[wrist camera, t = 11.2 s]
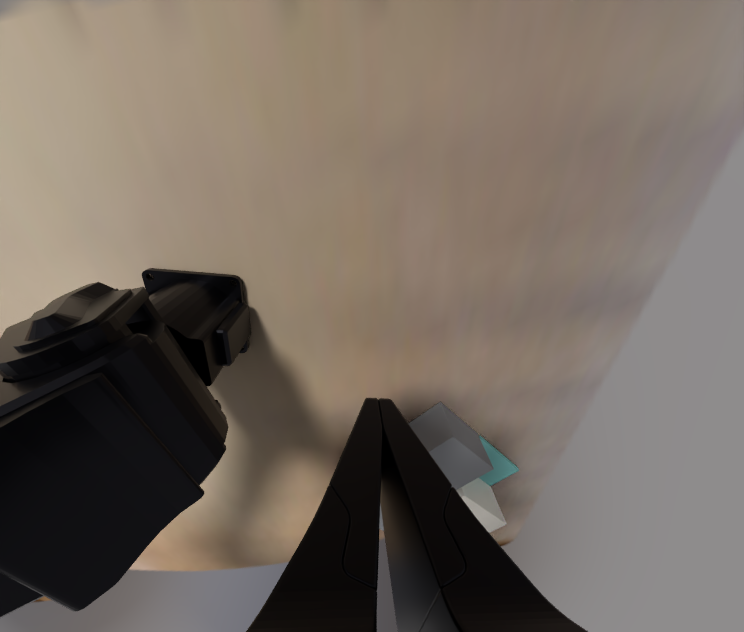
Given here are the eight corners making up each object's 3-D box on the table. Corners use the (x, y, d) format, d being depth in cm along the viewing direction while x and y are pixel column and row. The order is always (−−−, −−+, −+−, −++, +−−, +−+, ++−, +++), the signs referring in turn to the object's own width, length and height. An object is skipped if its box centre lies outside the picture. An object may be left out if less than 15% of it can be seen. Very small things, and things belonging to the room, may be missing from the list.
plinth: (340, 469, 31) (338, 508, 28) (440, 401, 27) (453, 436, 24) (380, 492, 34) (383, 530, 30) (477, 433, 30) (493, 468, 26)
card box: (416, 521, 29) (461, 546, 32) (464, 495, 27) (506, 524, 30) (409, 482, 32) (450, 508, 35) (451, 457, 31) (490, 486, 34)
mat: (383, 494, 34) (383, 497, 34) (479, 435, 30) (481, 438, 29) (424, 517, 37) (425, 521, 36) (517, 467, 33) (519, 470, 32)
